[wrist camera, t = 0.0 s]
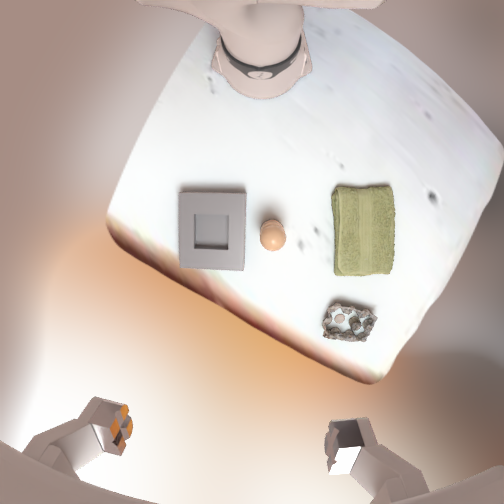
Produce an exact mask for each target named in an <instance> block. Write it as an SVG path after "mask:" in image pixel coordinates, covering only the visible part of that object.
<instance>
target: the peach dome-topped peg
mask: <svg viewBox="0 0 504 504" xmlns="http://www.w3.org/2000/svg"><path fill="white" fill-rule="evenodd" d="M260 242H261V244H262V246H263V247H264V248H265V249H267V250H269V251H277V250H279V249H281V248H282V247H283V246H284V244H285V242H286V234H285V231H284V229H283V226H282V225H281V223H280V222H278V221H276V220H268V221H266V222H264V223H263V225H262V226H261V229H260Z"/></svg>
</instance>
